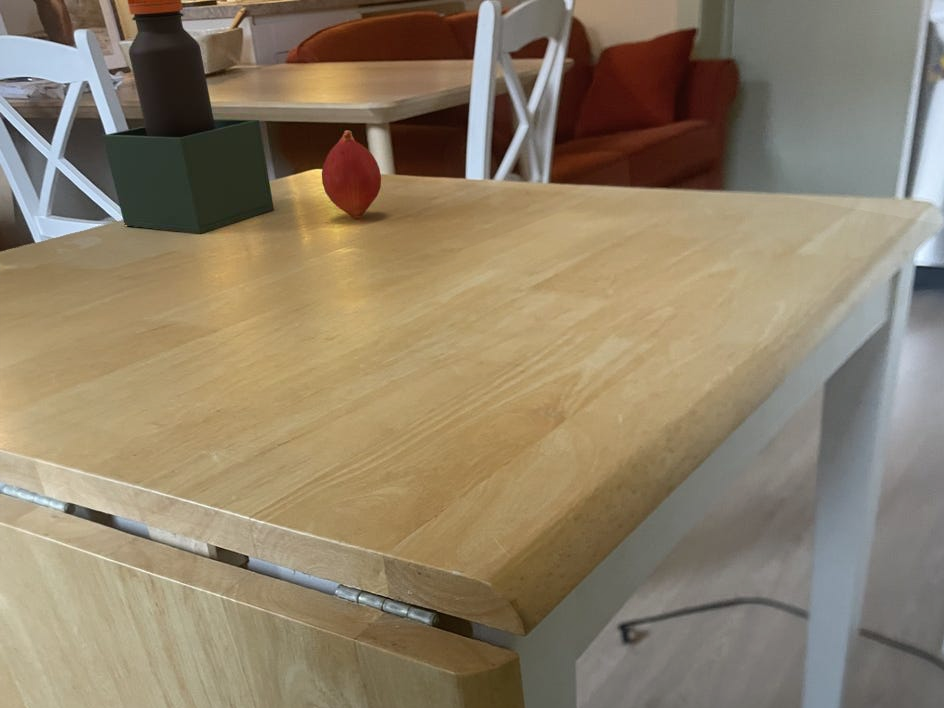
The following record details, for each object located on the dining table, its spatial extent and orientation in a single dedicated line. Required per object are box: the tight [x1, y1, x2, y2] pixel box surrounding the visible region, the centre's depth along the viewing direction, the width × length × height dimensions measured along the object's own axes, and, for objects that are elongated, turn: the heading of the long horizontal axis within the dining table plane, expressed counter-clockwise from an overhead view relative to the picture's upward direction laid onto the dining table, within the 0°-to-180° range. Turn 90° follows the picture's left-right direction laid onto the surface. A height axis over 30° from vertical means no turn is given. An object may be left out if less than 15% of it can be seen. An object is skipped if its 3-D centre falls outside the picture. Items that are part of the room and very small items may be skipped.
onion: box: [321, 129, 382, 219], centre depth 99 cm, size 6×6×8 cm
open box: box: [102, 118, 275, 235], centre depth 104 cm, size 11×11×9 cm
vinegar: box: [126, 0, 215, 137], centre depth 100 cm, size 7×7×20 cm
